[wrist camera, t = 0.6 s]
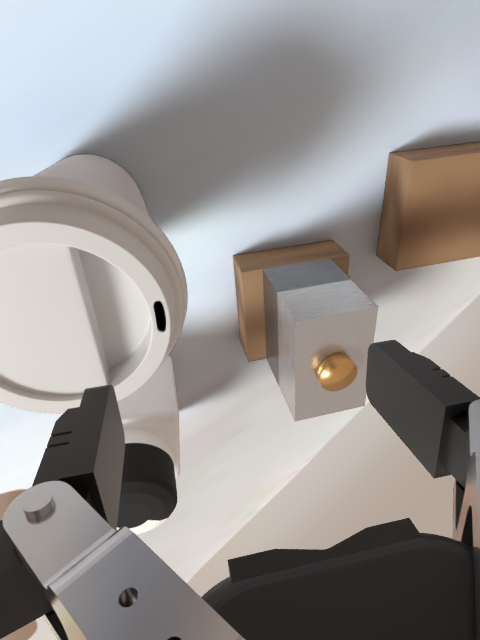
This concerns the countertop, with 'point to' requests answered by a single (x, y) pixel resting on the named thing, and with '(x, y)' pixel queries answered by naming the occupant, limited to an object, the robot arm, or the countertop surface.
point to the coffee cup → (82, 286)
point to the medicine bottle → (150, 452)
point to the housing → (317, 336)
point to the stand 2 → (431, 206)
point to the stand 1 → (251, 286)
